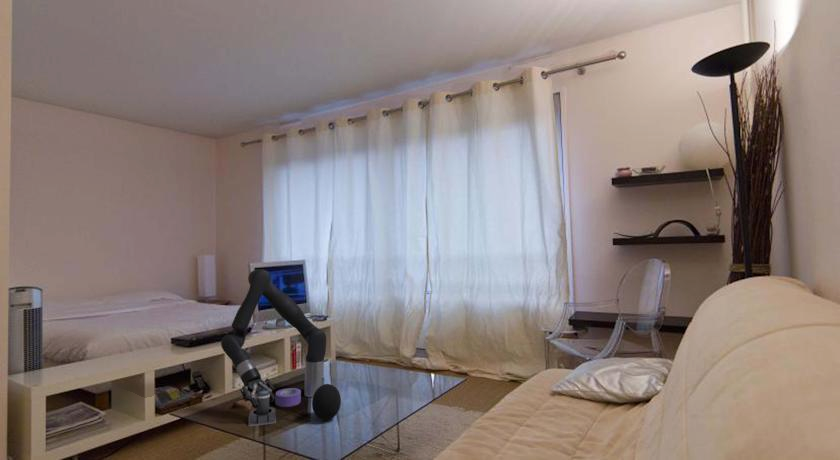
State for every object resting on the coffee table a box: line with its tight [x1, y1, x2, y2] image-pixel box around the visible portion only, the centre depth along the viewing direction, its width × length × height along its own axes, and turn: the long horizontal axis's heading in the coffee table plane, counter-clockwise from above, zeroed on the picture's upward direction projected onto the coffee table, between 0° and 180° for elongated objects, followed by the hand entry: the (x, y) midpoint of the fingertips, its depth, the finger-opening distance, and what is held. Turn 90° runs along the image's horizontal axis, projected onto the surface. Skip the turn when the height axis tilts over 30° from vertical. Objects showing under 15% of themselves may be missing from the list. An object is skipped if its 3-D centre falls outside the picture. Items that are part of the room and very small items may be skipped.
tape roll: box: [274, 387, 302, 408], centre depth 198 cm, size 12×12×5 cm
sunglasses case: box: [232, 390, 257, 410], centre depth 196 cm, size 18×7×7 cm, turn 3°
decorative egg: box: [311, 383, 342, 421], centre depth 179 cm, size 12×12×15 cm
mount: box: [248, 406, 277, 427], centre depth 177 cm, size 11×11×4 cm
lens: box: [256, 390, 270, 415], centre depth 177 cm, size 5×5×11 cm
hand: (265, 403), depth 176 cm, fingers open, 8 cm apart
